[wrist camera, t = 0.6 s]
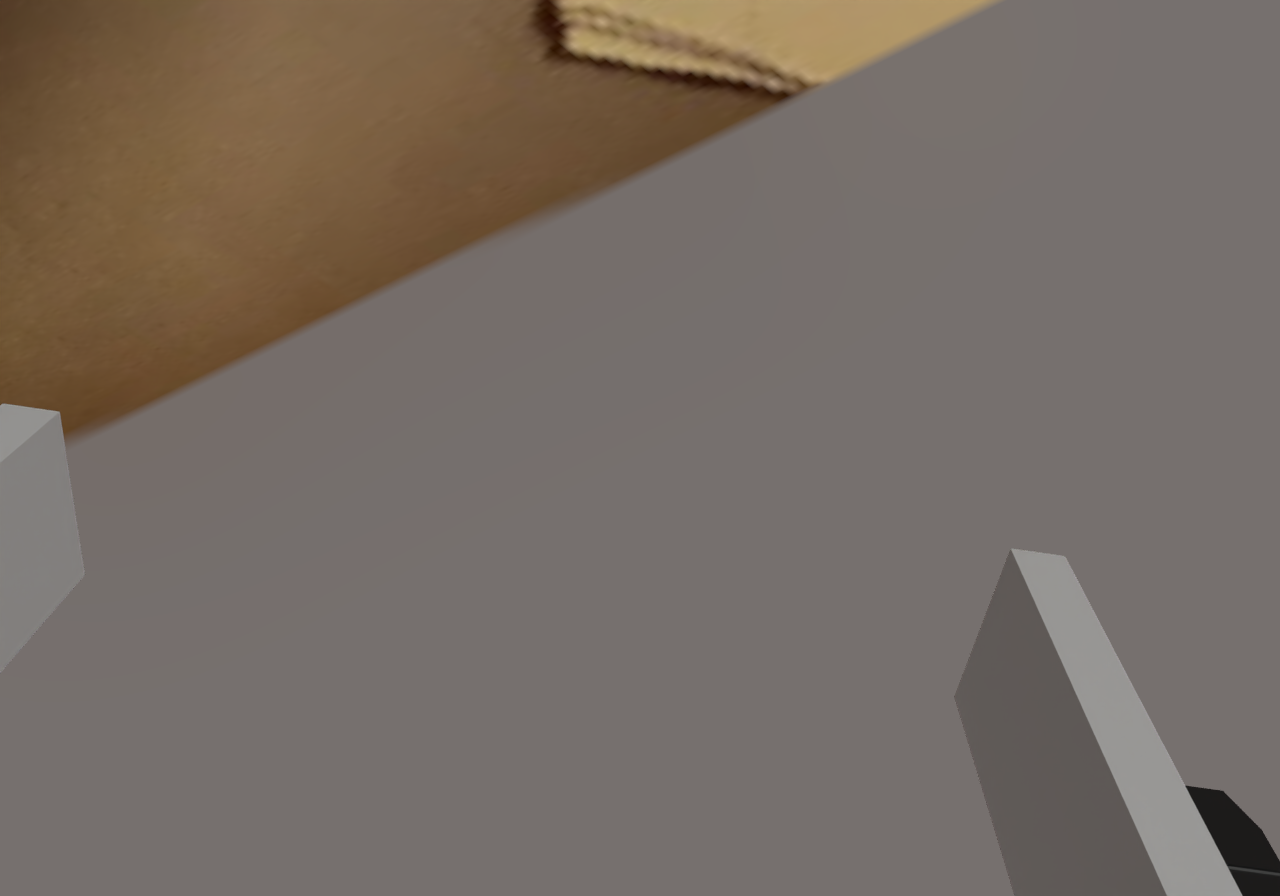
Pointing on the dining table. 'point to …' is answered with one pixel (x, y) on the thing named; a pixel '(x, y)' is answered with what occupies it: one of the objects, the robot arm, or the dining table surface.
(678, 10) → the dining table surface
